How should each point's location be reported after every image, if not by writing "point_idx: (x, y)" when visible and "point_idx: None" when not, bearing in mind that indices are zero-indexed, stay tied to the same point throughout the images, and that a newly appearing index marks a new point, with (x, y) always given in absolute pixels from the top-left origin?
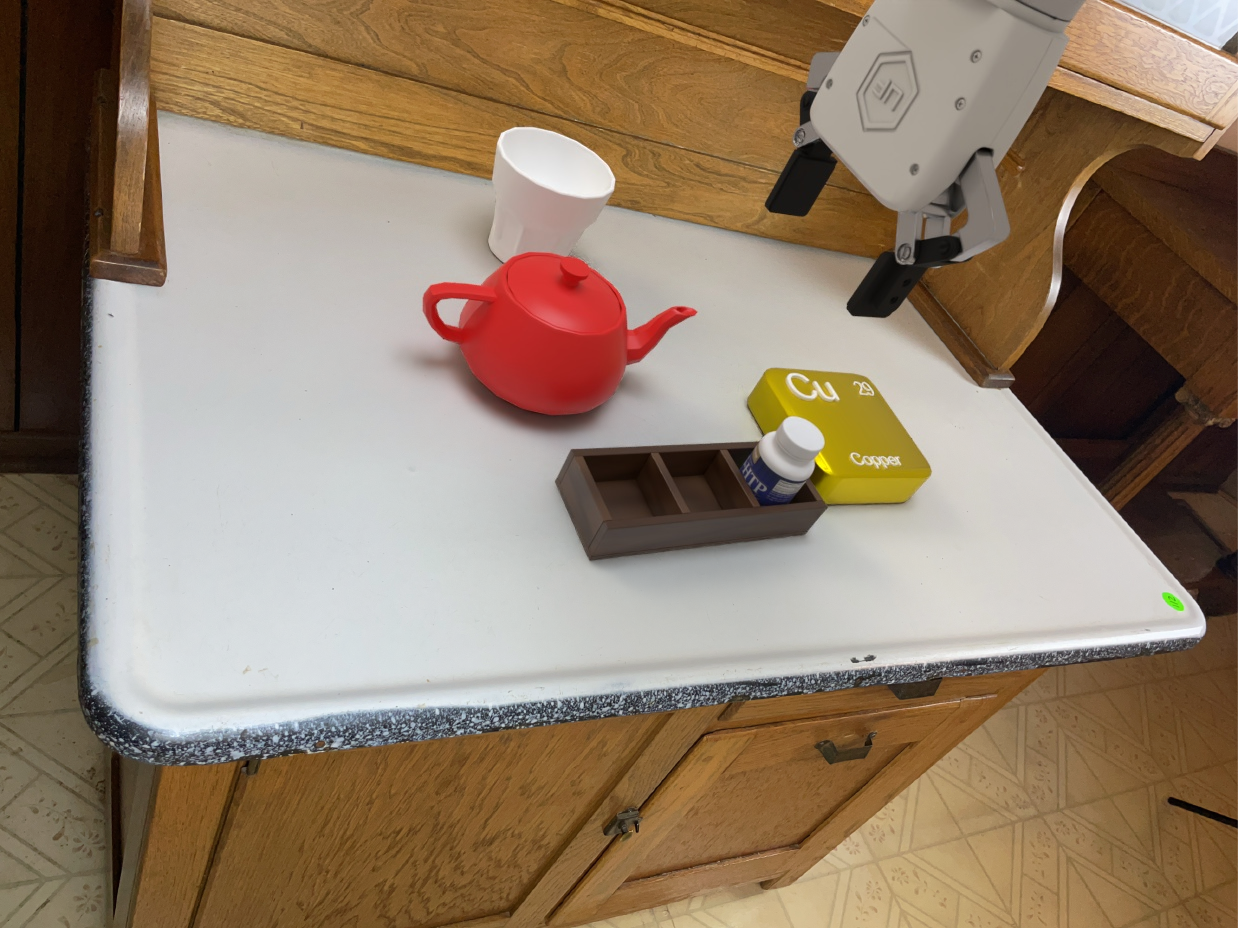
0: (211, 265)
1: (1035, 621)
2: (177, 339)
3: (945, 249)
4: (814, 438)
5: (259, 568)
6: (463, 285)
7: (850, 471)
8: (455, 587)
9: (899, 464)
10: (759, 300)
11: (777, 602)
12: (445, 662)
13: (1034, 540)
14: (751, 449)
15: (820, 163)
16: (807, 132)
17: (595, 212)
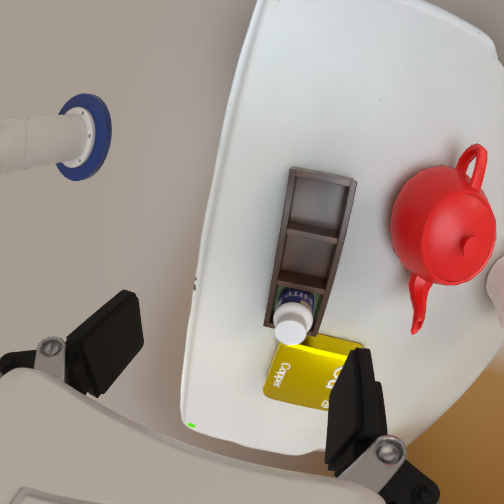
0: None
1: (193, 375)
2: (469, 46)
3: (4, 356)
4: (284, 336)
5: (329, 14)
6: (483, 169)
7: (279, 356)
8: (297, 85)
9: (274, 384)
10: (413, 396)
11: (234, 262)
12: (257, 66)
13: (229, 409)
14: (318, 311)
15: (337, 449)
16: (378, 466)
17: (502, 317)
